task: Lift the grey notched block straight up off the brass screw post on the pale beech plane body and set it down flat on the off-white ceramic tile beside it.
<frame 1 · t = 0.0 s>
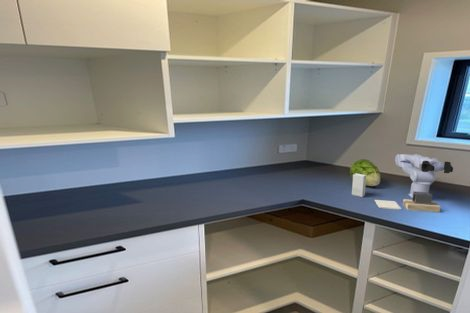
hand: (442, 169, 134), 22 cm above the worktop, tool horizontal, fingers open, 7 cm apart
tile: (387, 205, 147), on the worktop
skincare box: (357, 195, 161), on the worktop
lettuce: (364, 184, 181), on the worktop
grey notched block: (421, 202, 143), point 3 cm above the worktop, touching plane body
plane body: (420, 208, 143), on the worktop
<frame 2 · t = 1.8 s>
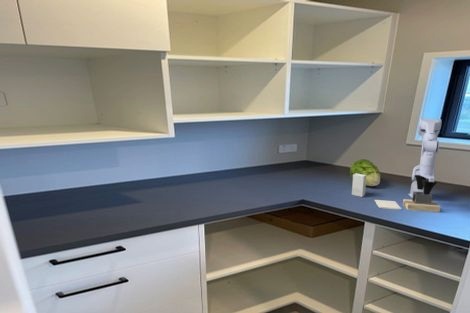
hand: (423, 191, 141), 9 cm above the worktop, tool pointing down, fingers open, 7 cm apart
nothing on the worktop moved.
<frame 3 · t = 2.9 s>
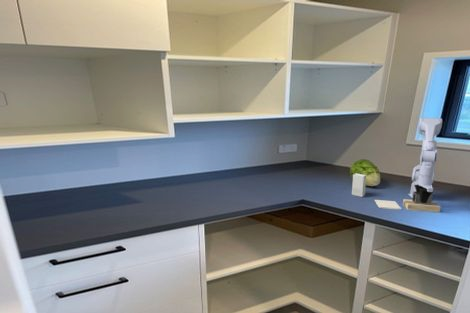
hand: (421, 201, 142), 4 cm above the worktop, tool pointing down, fingers closed on grey notched block, 4 cm apart
grey notched block: (421, 202, 143), point 3 cm above the worktop, touching gripper, plane body
everything else where it was.
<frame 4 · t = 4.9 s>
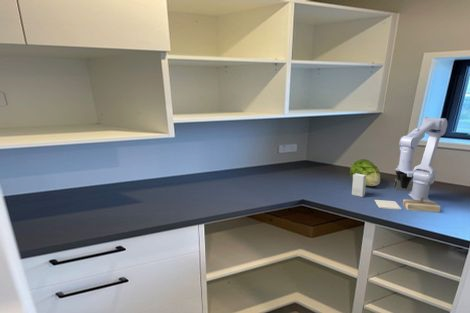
hand: (402, 186, 143), 10 cm above the worktop, tool pointing down, fingers closed on grey notched block, 4 cm apart
grey notched block: (402, 189, 144), point 9 cm above the worktop, touching gripper
everything else where it was.
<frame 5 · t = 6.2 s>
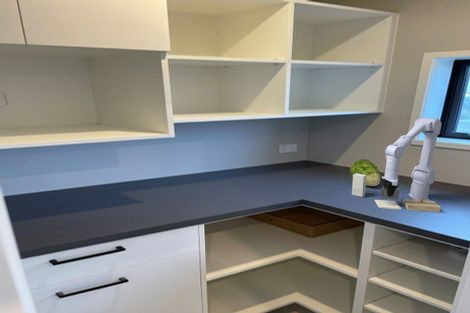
hand: (388, 194, 146), 6 cm above the worktop, tool pointing down, fingers closed on grey notched block, 4 cm apart
grey notched block: (388, 197, 146), point 4 cm above the worktop, touching gripper
everything else where it was.
when the fingers open (3 cm above the worktop, at t = 7.1 s): grey notched block stays where it is, resting on tile.
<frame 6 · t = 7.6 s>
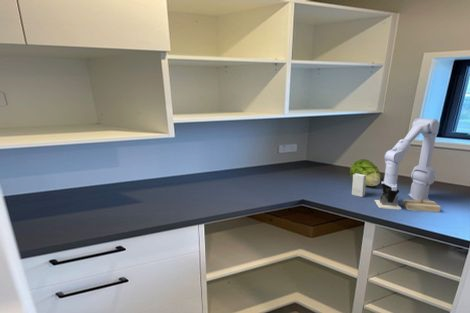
hand: (388, 199, 147), 3 cm above the worktop, tool pointing down, fingers open, 7 cm apart
grey notched block: (388, 204, 147), point 1 cm above the worktop, touching tile
everything else where it was.
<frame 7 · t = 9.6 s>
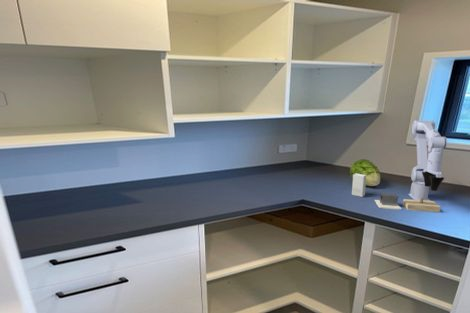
hand: (430, 188, 141), 10 cm above the worktop, tool pointing down, fingers open, 7 cm apart
nothing on the worktop moved.
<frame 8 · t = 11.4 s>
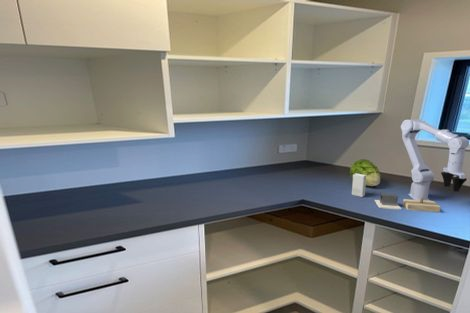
hand: (451, 188, 141), 10 cm above the worktop, tool pointing down, fingers open, 7 cm apart
nothing on the worktop moved.
at the end: grey notched block 0.3 cm off-centre on the tile, point 0.6 cm above the tile's base; grey notched block tilted 0°; the gripper is holding nothing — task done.
